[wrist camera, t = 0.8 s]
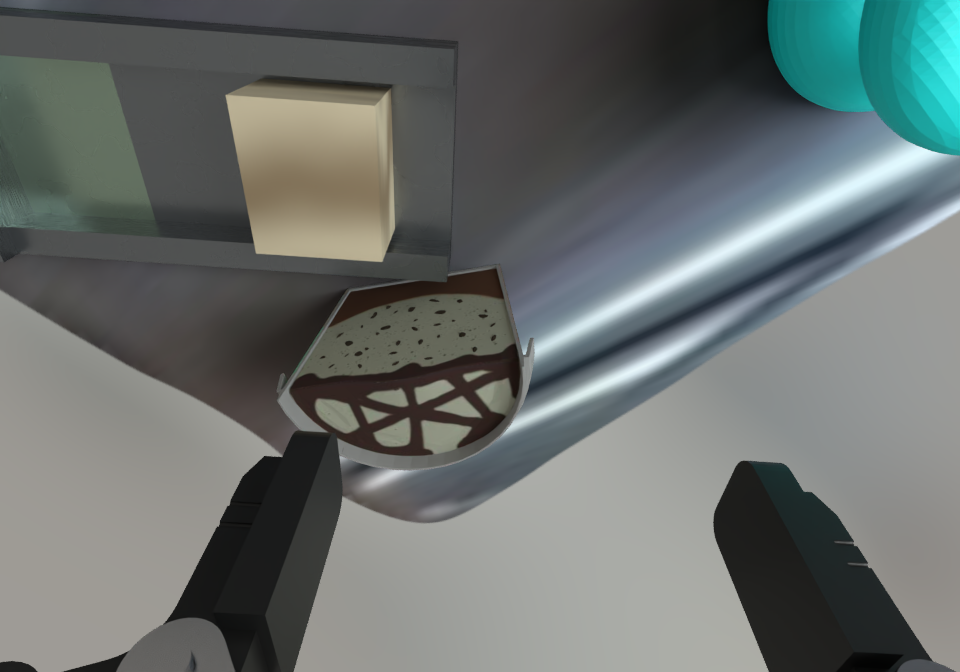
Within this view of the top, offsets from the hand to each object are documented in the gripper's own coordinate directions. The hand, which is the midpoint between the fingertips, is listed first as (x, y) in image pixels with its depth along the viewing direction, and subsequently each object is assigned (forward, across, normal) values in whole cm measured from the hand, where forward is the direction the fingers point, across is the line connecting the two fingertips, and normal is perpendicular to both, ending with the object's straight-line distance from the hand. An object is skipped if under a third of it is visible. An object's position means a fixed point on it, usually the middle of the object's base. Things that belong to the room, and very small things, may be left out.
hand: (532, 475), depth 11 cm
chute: (+21, +15, 0) cm, 25 cm away
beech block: (+20, +9, 0) cm, 21 cm away
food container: (+21, +4, +9) cm, 23 cm away
